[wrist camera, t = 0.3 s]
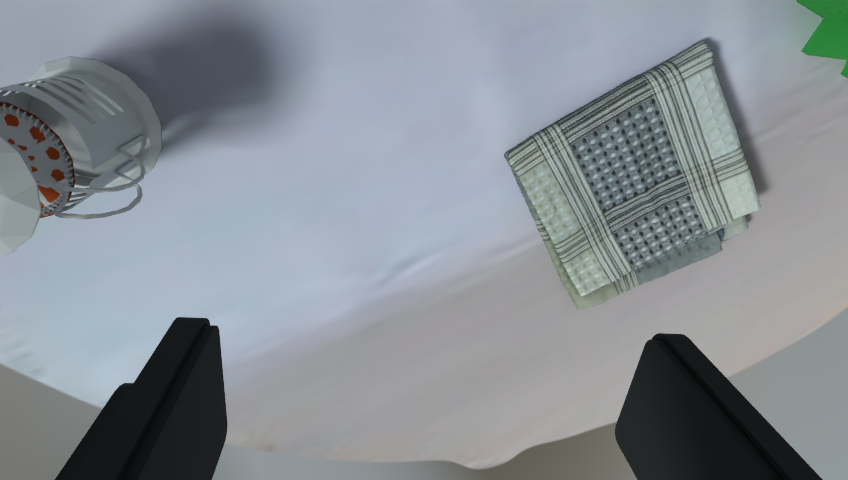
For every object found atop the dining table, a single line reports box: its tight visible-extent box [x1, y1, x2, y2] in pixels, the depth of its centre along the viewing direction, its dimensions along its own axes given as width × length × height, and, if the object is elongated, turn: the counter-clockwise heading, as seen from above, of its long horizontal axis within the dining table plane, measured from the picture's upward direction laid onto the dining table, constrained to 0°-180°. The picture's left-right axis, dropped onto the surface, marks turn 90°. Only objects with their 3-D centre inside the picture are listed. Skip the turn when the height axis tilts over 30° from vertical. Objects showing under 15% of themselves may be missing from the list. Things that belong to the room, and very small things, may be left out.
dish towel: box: [504, 41, 761, 309], centre depth 42 cm, size 19×18×3 cm
